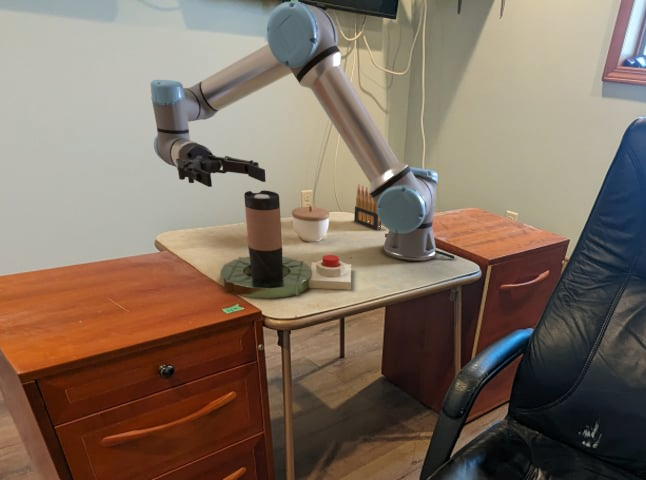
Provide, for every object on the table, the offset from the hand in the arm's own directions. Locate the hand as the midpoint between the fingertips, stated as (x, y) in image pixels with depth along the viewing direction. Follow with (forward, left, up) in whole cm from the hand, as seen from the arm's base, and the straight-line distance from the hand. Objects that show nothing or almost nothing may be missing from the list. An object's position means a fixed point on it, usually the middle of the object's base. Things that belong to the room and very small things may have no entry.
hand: (237, 178), depth 118 cm
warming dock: (-6, +7, -21) cm, 23 cm away
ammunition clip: (-31, -44, -22) cm, 58 cm away
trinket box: (-14, -27, -21) cm, 37 cm away
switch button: (-21, +4, -18) cm, 28 cm away
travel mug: (-6, +7, -21) cm, 24 cm away
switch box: (-21, +4, -21) cm, 31 cm away
